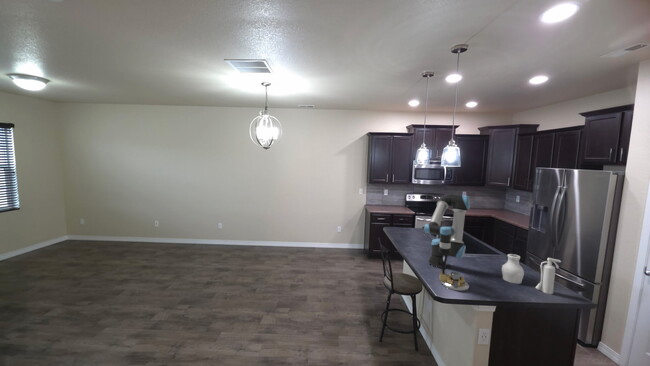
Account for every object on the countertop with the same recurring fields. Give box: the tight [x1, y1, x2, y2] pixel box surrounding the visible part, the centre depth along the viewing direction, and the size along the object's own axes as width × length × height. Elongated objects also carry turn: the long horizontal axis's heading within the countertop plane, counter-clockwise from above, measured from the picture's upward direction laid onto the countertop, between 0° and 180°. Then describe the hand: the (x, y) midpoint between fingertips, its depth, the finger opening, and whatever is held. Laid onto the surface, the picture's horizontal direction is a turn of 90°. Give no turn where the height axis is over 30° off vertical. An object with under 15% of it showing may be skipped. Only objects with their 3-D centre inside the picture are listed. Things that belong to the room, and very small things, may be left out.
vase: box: [501, 253, 525, 285], centre depth 201 cm, size 14×14×20 cm
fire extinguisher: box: [535, 257, 562, 295], centre depth 183 cm, size 7×12×25 cm, turn 65°
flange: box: [441, 271, 470, 292], centre depth 189 cm, size 18×18×9 cm
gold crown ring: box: [439, 272, 466, 287], centre depth 190 cm, size 17×12×5 cm
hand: (443, 277), depth 195 cm, fingers closed
